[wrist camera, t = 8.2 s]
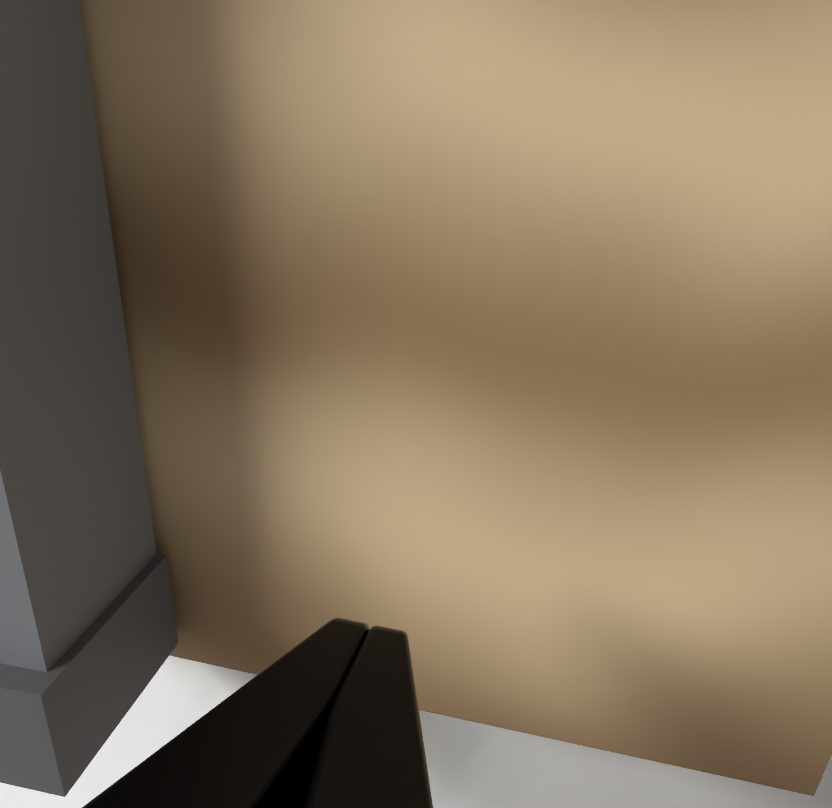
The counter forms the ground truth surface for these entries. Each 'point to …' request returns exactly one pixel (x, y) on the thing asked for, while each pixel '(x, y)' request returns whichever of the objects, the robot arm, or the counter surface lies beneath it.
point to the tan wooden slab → (493, 350)
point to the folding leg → (65, 426)
